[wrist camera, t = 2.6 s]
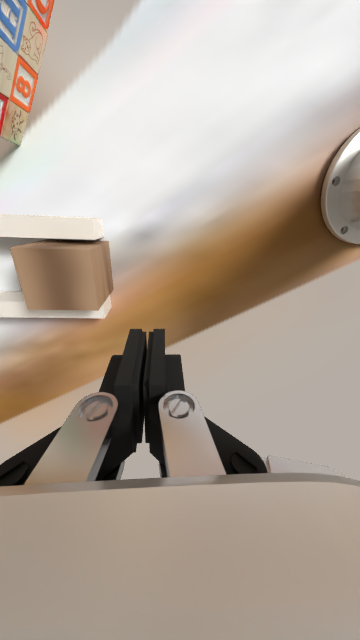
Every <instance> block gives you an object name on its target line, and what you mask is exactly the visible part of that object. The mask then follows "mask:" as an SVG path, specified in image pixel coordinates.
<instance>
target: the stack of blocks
mask: <svg viewBox="0 0 360 640" xmlns="http://www.w3.org/2000/svg"><path fill="white" fill-rule="evenodd" d="M53 4H54V0H0V137H2V138H3V139H6V140H8V141H10V142H12V143H14V144H17V145H19V146H20V145H21V142H22V138H23V135H24V131H25V126H26V122H27V118H28V113H29V112H30V110H31V105H32V101H33V97H34V93H35V88H36V84H37V79H38V74H39V71H40V67H41V63H42V59H43V55H44V51H45V46H46V42H47V37H48V35H47V29H48V27H49V21H50V17H51V12H52V8H53Z"/></svg>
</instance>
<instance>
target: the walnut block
mask: <svg viewBox="0 0 360 640" xmlns="http://www.w3.org/2000/svg"><path fill="white" fill-rule="evenodd" d="M10 251H11V254H12V258H13V261H14V265H15V268H16V271H17V275H18V278H19V282H20V285H21V289H22V292H23V296H24V299H25V303H26V306H27V310H91V311H99V309H100V308H101V306H102V305H103V304H104V302H105V301H106V299H107V298H108V297H109V295H110V294H111V292H112V291H113V280H112V270H111V260H110V250H109V241H86V240H55V239H47V240H42V241H38V242H33V243H28V244H24V245H19V246H14V247H10Z"/></svg>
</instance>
